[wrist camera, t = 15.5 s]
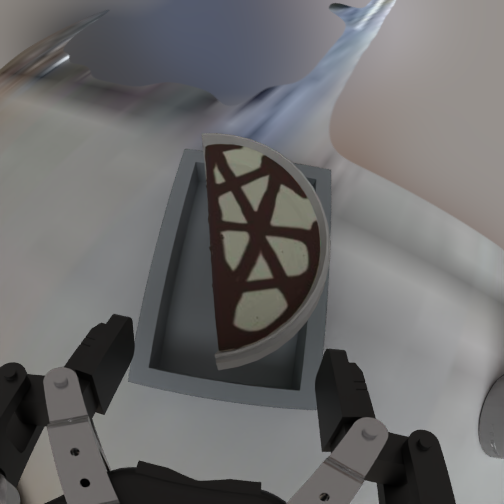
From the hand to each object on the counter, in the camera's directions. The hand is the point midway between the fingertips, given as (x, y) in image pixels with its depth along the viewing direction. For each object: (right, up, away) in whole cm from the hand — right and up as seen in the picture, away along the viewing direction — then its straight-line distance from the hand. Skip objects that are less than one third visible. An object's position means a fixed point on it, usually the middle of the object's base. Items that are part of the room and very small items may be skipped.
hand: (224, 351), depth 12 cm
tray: (0, +2, +12) cm, 12 cm away
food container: (+1, +2, +11) cm, 12 cm away
